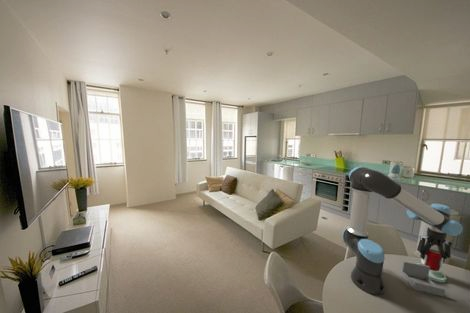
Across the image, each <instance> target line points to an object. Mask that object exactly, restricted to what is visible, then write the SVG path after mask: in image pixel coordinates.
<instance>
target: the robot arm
mask: <svg viewBox="0 0 470 313" xmlns="http://www.w3.org/2000/svg"><path fill="white" fill-rule="evenodd" d="M348 178H349V181H350V182H351V184H350V187H351V189H352V191H353V193H352V200H351V202H352V203H351V210H350V218H349V225H347V226H346V228H345V229H344V230H343V231H342V233H341V238H342V241H343V243H344V244H345V246H347V247H348V249H349V251H351V252H352V254H353V255H354V256H355V257H356V261H355V266H354V267H353V268H352V270H351V273H350V280H351V282H353V284H354V285H355V286H356V287H357V288H359V289H360V290H362V291H364V292H366V293H368V294H370V295H374V296H379V295H383V294H384V292H385V283H384V280H383V269H384V261H385V259H386V258H385V257H386V256H385V251H384V249H383V248H382V246H381V245H380V244H378V243H377V242H375V241H373V240H370V239H369V232H368V231H367V225H368V220H369V211H370V204H371V203H370V201H371V194H373V193H375V194H378V195H379V196H381V197H383V198H385V199H386V200H388V199H389V200H392V201H393V202H394V203H396V204H398V205H399V206H401V207H402V208H404V209H405V210H406V214H407V217H409V219H411V220H416V221H421V222H423V223H425V224H427V229H426V235H425V236H422V235H420V236H419V242H418V245H417V248H416V251H418V252H419V253H420V257H419V258H421V259H420V263H422V264H424V265H426V260H427V255H426V253H427V252H428V250H429V249H430V248H431V247H434V246H436V247H437V248H438V249H437V250H439V251H440V253H441V255H442V258H441V264H440V269H442V268H443V263H445V261H446V260H447V259H450V258H451V248H452V247H451V246H452V244H453V242H451V241H450V240H448V239H447V236H448V235H449V236H452V237H453V236H454V237H456V236H458V235H460V234H462V232H463V229H464V227H463V225H462V224H461V223H460V222H458V221H456V220H454V219H451V207H449V206H448V205H445V204H442V203H441V204H440V203H436V202H435V203H431V205H430V204H429V205H428V204H427V203H426V202H424V201H422V200H420V199H419V198H418V197H416V196H414V195H412V193H410V192H408V191H407V190H405V189H403V188H402V185H401V184H399V183H398V182H396V181H395V180H393V179H392V178H391V177H389V176H387V175H386V174H385V173H382V172H381V171H378V170H375V169H371V168H368V167H365V166H356V167H354V168H353V169H351V170H350V171H349V174H348Z"/></svg>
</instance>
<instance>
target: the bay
mask: <svg viewBox="0 0 470 313" xmlns="http://www.w3.org/2000/svg"><path fill="white" fill-rule="evenodd" d="M429 269H430V267H429V266H427V265H421V264H416V262H409V261H406V260H402V266H401V272H400V273H401V274H402V276H404V278H405V279H406V281H408V283H409V284H410V285H411V287H412V288H413V289H414V290H415V291H419V292H422V293H427V294H432V295H436V296H440V297H445V293H446V289H445V288H444V287H440V286H437V284H436V283H435V282H434V281H433V280H431V279H429V278H428V275H429ZM409 276H410V277H415V278H419V279H424V280H426V281H427V282H428V284H426V283H422V282H417V281H413V280H412V279H411V278H410V277H409Z"/></svg>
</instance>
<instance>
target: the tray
mask: <svg viewBox="0 0 470 313" xmlns="http://www.w3.org/2000/svg"><path fill="white" fill-rule="evenodd" d="M415 263H416V262H415ZM416 264H421V265H423V263H422V262H417V263H416ZM428 278H429V279H430V280H431V281H432V282H437V283H446V282H447V275H446V274H445V273H444V272H442V270H440V269H439V271H433V270H430V269H429V275H428Z"/></svg>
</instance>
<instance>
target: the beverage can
mask: <svg viewBox="0 0 470 313" xmlns="http://www.w3.org/2000/svg"><path fill="white" fill-rule="evenodd" d="M426 255H427V260H426V265H427V266H429V267H430V270H433V271H439V270H440V269H441V268H440V264H441V258H442V255H441V253H440V251H439V250H438V249H436V248H434V247H433V246H431V248H430V249H429V250H428V252H427V253H426ZM422 264H423V263H422ZM423 265H424V264H423Z"/></svg>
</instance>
